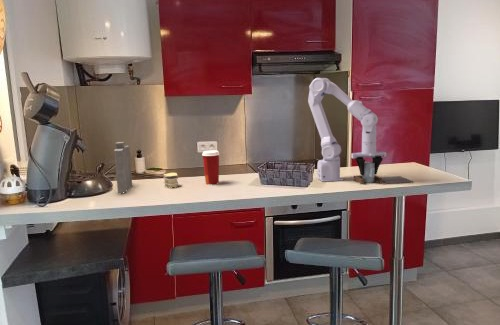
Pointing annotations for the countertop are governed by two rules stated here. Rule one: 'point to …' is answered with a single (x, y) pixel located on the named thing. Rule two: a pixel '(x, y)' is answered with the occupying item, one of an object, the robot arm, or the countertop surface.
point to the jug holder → (361, 181)
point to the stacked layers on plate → (171, 180)
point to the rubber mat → (395, 180)
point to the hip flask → (122, 167)
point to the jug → (369, 172)
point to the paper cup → (211, 166)
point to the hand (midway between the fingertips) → (368, 174)
